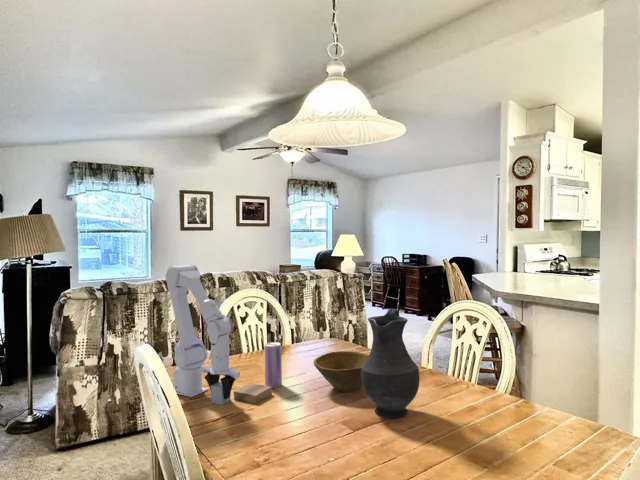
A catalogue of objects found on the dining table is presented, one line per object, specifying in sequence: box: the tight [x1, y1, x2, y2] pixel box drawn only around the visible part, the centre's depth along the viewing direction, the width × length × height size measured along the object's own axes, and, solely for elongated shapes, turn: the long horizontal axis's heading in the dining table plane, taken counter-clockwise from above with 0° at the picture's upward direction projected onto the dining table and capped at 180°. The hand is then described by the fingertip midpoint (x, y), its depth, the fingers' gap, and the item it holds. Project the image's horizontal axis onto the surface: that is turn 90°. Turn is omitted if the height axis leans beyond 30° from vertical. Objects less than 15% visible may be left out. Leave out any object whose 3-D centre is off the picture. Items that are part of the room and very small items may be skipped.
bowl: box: [313, 350, 370, 393], centre depth 154 cm, size 22×23×10 cm
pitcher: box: [361, 308, 420, 419], centre depth 133 cm, size 17×21×30 cm
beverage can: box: [264, 341, 283, 389], centre depth 157 cm, size 6×6×15 cm
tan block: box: [233, 382, 273, 404], centre depth 146 cm, size 9×9×3 cm
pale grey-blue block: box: [210, 381, 232, 406], centre depth 142 cm, size 4×4×6 cm
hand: (220, 396), depth 142 cm, fingers closed on pale grey-blue block, 4 cm apart
